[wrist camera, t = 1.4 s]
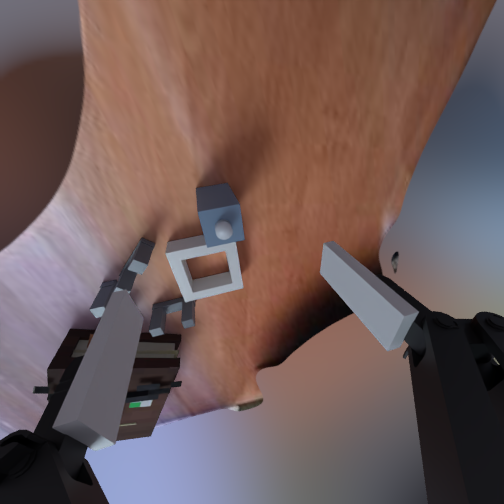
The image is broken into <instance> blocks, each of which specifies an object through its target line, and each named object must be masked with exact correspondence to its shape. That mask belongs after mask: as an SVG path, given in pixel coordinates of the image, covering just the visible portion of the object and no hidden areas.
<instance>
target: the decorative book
mask: <svg viewBox="0 0 504 504" xmlns="http://www.w3.org/2000/svg"><path fill="white" fill-rule="evenodd" d="M95 331H96V330H84V329H70V330H69V332H68V334H67V336H66V337H65V339H64V341H63V342H62V344H61V346H60V348H59V349H58V351H57V353H56V355H55V356H54V358H53V360H52V362H51V363H50V365H49V367H48V369H47V376H48V387H37V386H34V389H33V393H48V398H47V400H48V402H49V401H50V399H51V397H52V395H54V391H55V389H56V387H57V385H58V384H59V381H60V379H61V377H62V375H63V373H64V371H65V369H66V368H67V367H68V366H69V364H70V363H71V362H72V361H73V360H74V358H76V357H79V356H83V355H85V353H86V351H87V349H88V346H89V344H90V342H91V340H92V337H93V335H94V333H95ZM180 341H181V335H177V334H162V335H159V336H155V337H152V335H151V333H141V334H140V338H139V343H138V347H137V352H136V356H135V360H134V365H133V369H132V373H131V378H130V382H129V386H128V391H127V395H126V399H125V404H124V408H123V413H122V417H121V421H120V426H119V430H118V434H117V439H116V441H119V440H126V439H134V438H141V437H149V436H151V434H152V432H153V429H154V427H155V425H156V423H157V420H158V418H159V415H160V413H161V411H162V408H163V406H164V404H165V401H166V399H167V396H168V394H169V393H170V389H171V387H180V386H181V383H182V381H178V382H174V380H175V377H176V375H177V373H178V370H179V368H180V358H177V356H178V353H179V351H178V350H177V349H178V347H179V344H180Z"/></svg>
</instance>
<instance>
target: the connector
mask: <svg viewBox="0 0 504 504" xmlns="http://www.w3.org/2000/svg"><path fill="white" fill-rule="evenodd" d="M196 196H197V210H198V215H199V219H200V223H201V226H202V230H203V234H204V238H205V242H206V245H207V248H209V247H214V246H218V245H223V244H228V243H232V242H237V241H242V240H245V239H244V231H243V224H242V217H241V209H240V204H239V202H238V200H237V198H236V197H235V195H234V193H233V191H232V190H231V188H230V186H229V185H228V183H224V184H218V185H212V186H206V187H200V188H196Z"/></svg>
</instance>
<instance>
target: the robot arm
mask: <svg viewBox="0 0 504 504" xmlns="http://www.w3.org/2000/svg"><path fill="white" fill-rule="evenodd" d="M320 274H321V275H322V276H323V277H324V278H325V279H326V281H327V282H328V283H329V284H330V285H331V286H332V287H333V289H334V290H335V291H336V292H337V293H338V294H339V296H340V297H341V298H342V299H343V300H344V301H345V303H346V304H347V305H348V306H349V307H350V308H351V310H352V311H353V312H354V313H355V314H356V315H357V316H358V318H359V319H360V320H361V321H362V322H363V323H364V325H365V326H366V327H367V328H368V329H369V330H370V332H371V333H372V334H373V335H374V336H375V337H376V339H377V340H378V341H379V342H380V343H381V344H382V346H383V347H384V348H385V349H386V350H387V351H390V350H393V349H396V348H398V347H400V346H401V344H402V342H403V341H404V340H405V341H406V343H408V345H409V346H408V347H407V349H406V351H405V353H404V355H403V358H405V359H406V357H407V355H408V356H409V364H410V371H411V379H412V386H413V394H414V402H415V409H416V416H417V424H418V432H419V438H420V446H421V454H422V461H423V469H424V477H425V484H426V491H427V500H428V504H504V317H502V316H500V315H497V314H494V313H490V312H479V313H477V314H476V315H475V317H474V318H473V319H454V318H453V317H451V316H449V315H447V314H444V313H442V312H435V311H433V312H432V311H430V310H429V309H428V308H426V307H425V306H424V305H423V304H421V303H420V302H419V301H417V300H416V299H415V298H414V297H412V296H411V295H410V294H409V293H407V292H406V291H404V289H402V288H401V287H399V286H398V285H397V284H396V283H394V282H393V281H392V280H391V279H389V278H387V277H385V276H383V275H381V274H378V275H374V274H373V273H372V272H370V271H369V270H368V269H367V268H366V267H364V266H363V265H362V264H361V263H360V262H358V261H357V260H356V259H355V258H353V257H352V256H351V255H350V254H349V253H347V252H346V251H345V250H344V249H343V248H341V247H340V246H339V245H338V244H337V243H335V242H334V241H331V242H326V243H324V244H323V253H322V262H321V270H320ZM143 321H144V318H143V316H142V314H141V313H140V311H139V309H138V308H137V306H136V305H135V303H134V301H133V300H132V298H131V296H130V295H129V293H128V291H127V290H126V289H125V290H121V291H116V292H113V293H112V295H111V297H110V299H109V302H108V304H107V306H106V308H105V311H104V313H103V315H102V317H101V320H100V322H99V324H98V326H97V328H96V331H95V333H94V335H93V337H92V340H91V342H90V344H89V346H88V349H87V351H86V353H85V355H83V356H79V357H76V358H74V360H73V361H72V362H71V363H70V364H69V366H68V367H67V368H66V369H65V371H64V373H63V375H62V377H61V379H60V381H59V384H58V385H57V387H56V389H55V391H54V395H52V397H51V399H50V401H49V403H48V405H47V407H46V409H45V411H44V413H43V415H42V417H41V419H40V421H39V423H38V425H37V427H36V429H35V431H34V433H32V432H30V431H28V430H18V431H16V432H13V433H11V434H9V435H8V436H6V437H5V438H3V439H2V440H0V504H109V502H108V501H107V499H106V497H105V495H104V492H103V490H102V489H101V486H100V485H99V482H98V480H97V478H96V477H95V474H94V473H93V471H92V468H91V467H90V464H89V462H88V461H87V460H86V459H85V458H84V457H85V454H86V450H87V447H89V448H90V449H92V450H94V451H97V450H100V449H103V448H105V447H109V446H112V445H115V443H116V439H117V434H118V430H119V426H120V421H121V417H122V413H123V408H124V404H125V399H126V395H127V391H128V386H129V382H130V378H131V373H132V369H133V365H134V360H135V356H136V352H137V347H138V343H139V338H140V334H141V330H142V325H143ZM494 357H495V359H496V360H497V361H498V363H499V364H500V365H498V364H497V363H496V362H495V361H494V359H493V358H494Z"/></svg>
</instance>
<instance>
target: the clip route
mask: <svg viewBox="0 0 504 504" xmlns="http://www.w3.org/2000/svg"><path fill="white" fill-rule="evenodd" d="M154 246H155V243H153V242H151V241H148V240H146V239H144V238H141V240H140V241H139V243H138V245H137V246H136V248H135V249H134V251H133V253H132V254H131V256H130V258H129V259H128V261H127V263H126V264H125V266H124V268H123V269H122V271H121V273H120V275H119V276H120V277H119V279H118V282H117V281H116V280H113V281H108V282H104V283H102V285H101V286H100V288H101V289H100V291H99V293H98V294H97V296H96V298H95V300H94V302H93V304H92V306H91V308H90V311H91V312H92V314H93V315H94V316H95V317H96V318H99V317H102V315H103V313H104V311H105V308H106V306H107V304H108V302H109V299H110V297H111V295H112V293H113V292H116V291H121V290H125V289H126V290H127V291H128V293H130V292H131V289H132V286H133V283H134V280H135V277H136V275H137V273H139V274H141V275H142V273H143V272H144V270H145V269H146V267H147V266H148V263H149V260H150V256H151V253H152V250H153V248H154ZM152 310H153V312H152V317H151V322H150V327H149V332H150V333H151V335H152V337H155V336H159V335H162V334H164V330H165V322H166V314H168V313H172V312H176V311H180V310H182V319H181V322H182V324H183V327H184V329H185V328H189V327H192V326H195V300H193V301H189V302H185V300H184V298H183V297H182V298H178V299H174V300H169V301H165V302H161V303H157V304H153V307H152Z"/></svg>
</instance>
